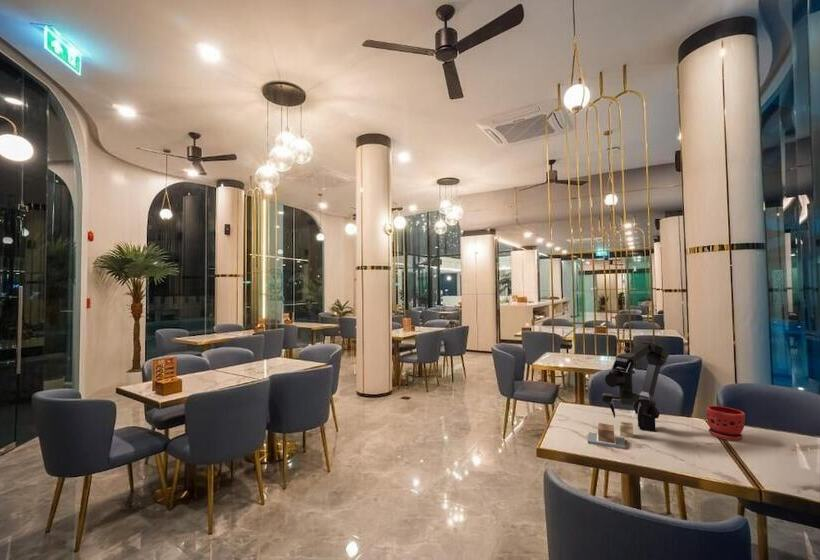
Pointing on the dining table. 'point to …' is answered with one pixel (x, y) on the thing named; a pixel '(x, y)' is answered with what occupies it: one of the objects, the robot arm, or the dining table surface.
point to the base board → (618, 442)
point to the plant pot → (725, 422)
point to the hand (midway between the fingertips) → (626, 418)
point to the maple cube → (626, 429)
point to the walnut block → (606, 433)
